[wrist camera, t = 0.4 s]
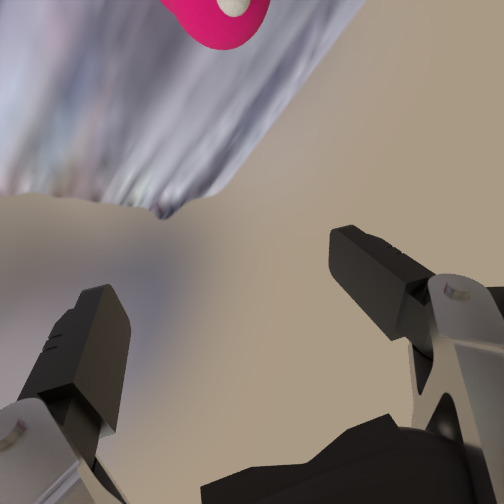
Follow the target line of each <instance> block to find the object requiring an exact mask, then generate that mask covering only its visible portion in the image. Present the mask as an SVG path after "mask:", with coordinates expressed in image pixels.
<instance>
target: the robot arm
mask: <svg viewBox="0 0 504 504" xmlns="http://www.w3.org/2000/svg"><path fill="white" fill-rule="evenodd" d="M329 269H330V272H331V274H332V276H333V278H334V279H335V280H336V281H337V282H338V283H339V284H340V286H341V287H343V289H344V290H345V291H346V292H347V293H348V294H349V295H350V296H351V298H352V299H353V300H354V301H355V302H356V303H357V304H358V305H359V306H360V307H361V308H362V310H363V311H364V312H365V313H366V314H367V315H368V316H369V317H370V318H371V319H372V320H373V322H374V323H375V324H376V325H377V326H378V327H379V328H380V329H381V330H382V331H383V332H384V333H385V335H386V336H387V337H388V338H389V339H390V340H391V341H393V340H396V339H399V338H402V337H406V338H407V339H409V341H410V342H409V345H408V354H409V363H410V373H411V382H412V392H413V415H412V427H411V428H410V427H398V426H397V424H396V423H395V422H394V420H393V419H392V417H391V416H390V414H386V415H383V416H380V417H378V418H375V419H373V420H370V421H368V422H365V423H362V424H360V425H357V426H355V427H352V428H350V429H347V430H346V431H345V432H344V433H342V434H341V435H340V436H339V437H337V438H336V439H335V440H334V441H333V442H332V443H331V444H329V445H328V446H327V447H326V448H325V449H323V450H322V451H321V452H320V453H319V454H318V455H316V456H315V457H314V458H313V459H312V460H310V461H309V462H307V463H304V464H295V465H294V464H293V465H277V466H259V467H250V468H247V469H245V470H242V471H240V472H237V473H234V474H232V475H229V476H227V477H224V478H222V479H219V480H217V481H214V482H211V483H209V484H206V485H204V486H201V487H200V489H201V501H202V504H504V287H484V286H483V285H482V284H480V283H479V282H477V281H475V280H473V279H470V278H468V277H465V276H461V275H456V274H438V275H436V274H434V273H433V272H431V271H430V270H428V269H427V268H425V267H424V266H422V265H421V264H419V263H418V262H416V261H415V260H413V259H412V258H410V257H409V256H407V255H406V254H404V253H403V254H402V253H401V251H400V250H398V249H397V248H395V247H392V245H391V244H389V243H388V242H386V241H385V240H383V239H381V238H379V237H375V236H373V235H370V234H366V233H364V232H363V231H361V230H360V229H359V228H357V227H356V226H354V225H347V226H343V227H339V228H335V229H332V230H331V233H330V243H329ZM130 337H131V327H130V322H129V318H128V316H127V314H126V312H125V310H124V309H123V306H122V305H121V303H120V301H119V299H118V297H117V295H116V293H115V291H114V289H113V288H112V286H111V285H109V284H106V285H102V286H98V287H94V288H90V289H86V290H83V291H82V292H81V294H80V296H79V298H78V301H77V303H76V305H75V307H74V309H69V310H68V311H67V312H66V313H65V314H64V315H63V316H62V317H61V318H60V319H59V320H58V321H57V322H56V323H55V325H54V327H53V329H52V331H51V333H50V335H49V337H48V338H49V340H47V341H46V343H45V345H44V347H43V349H42V350H43V352H42V353H40V355H39V357H38V359H37V361H36V363H35V365H34V367H33V369H32V371H31V373H30V375H29V377H28V379H27V381H26V383H25V385H24V387H23V389H22V391H21V393H20V395H19V397H18V399H17V401H16V402H14V403H12V404H10V405H8V406H6V407H5V408H3V409H2V410H0V504H130V503H129V501H128V500H127V498H126V497H125V495H124V494H123V492H122V491H121V489H120V488H119V486H118V485H117V483H116V482H115V480H114V479H113V478H112V476H111V475H110V473H109V472H108V470H107V468H106V467H105V466H104V464H103V463H102V461H101V460H100V458H99V457H98V456H97V455H96V449H97V445H98V440H99V438H102V437H105V436H108V435H111V434H114V433H115V432H116V426H117V419H118V413H119V407H120V400H121V394H122V388H123V381H124V374H125V369H126V362H127V356H128V350H129V343H130Z"/></svg>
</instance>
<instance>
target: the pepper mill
mask: <svg viewBox="0 0 504 504" xmlns="http://www.w3.org/2000/svg"><path fill="white" fill-rule="evenodd" d="M160 1H161V2H162V3H163V4H164V5H165V7H166V8H167V9H168V10H170V11H171V12H172V13H173V14H175V16H176V18H177V20H178V22H179V23H180V24H181V26H182V27H183V28H184V30H185V31H186V32H187V33H188V34H189V35H190V36H191V37H192V38H193V39H195V40H196V41H198V42H199V43H201V44H202V45H204V46H206V47H209V48H211V49H216V50H229V49H234V48H236V47H239V46H241V45H243V44H244V43H245V42H246V41H248V40H249V39H250V38H251V37H252V36H253V35H254V34H255V33H256V32H257V30H258V29H259V27H260V25H261V24H262V22H263V20H264V18H265V15H266V13H267V10H268V7H269V4H270V0H160Z"/></svg>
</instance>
